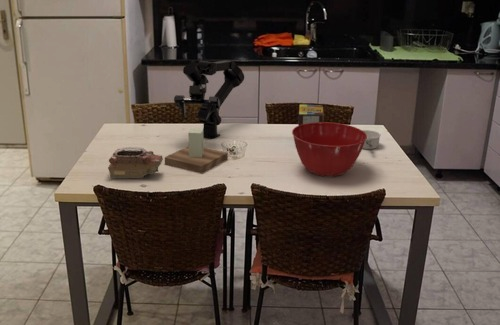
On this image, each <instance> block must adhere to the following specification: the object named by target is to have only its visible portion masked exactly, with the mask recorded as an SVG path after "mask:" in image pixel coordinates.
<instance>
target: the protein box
mask: <svg viewBox="0 0 500 325" xmlns="http://www.w3.org/2000/svg"><path fill="white" fill-rule="evenodd" d="M315 122H324V106H323V105H321V104H299V108H298V122H297V123H298V125H297V126H299V125H302V124H306V123H315Z"/></svg>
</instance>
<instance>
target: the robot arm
mask: <svg viewBox="0 0 500 325" xmlns="http://www.w3.org/2000/svg"><path fill="white" fill-rule="evenodd" d="M221 71H223V75H224V77H223V78H224V82H223V84H222V85H221V86H220V87H219V89H218V90H217V92H216V93H215V95H214V96H209V97H208V99H205V96H206V94H207V84H209V83H210V82H209V80H208V77H207V76H213V75H216V74H217V72H221ZM182 73H183V74H184V75H185V76H186V78H188V79H189V81H190V82H192V85H189V86H188V87H189V90H188V94H189V98H185V95H182V94H181V95H180V94H179V95H178V94H177V95H175V96H174V97H173V102H174V104H175V107H176V108H178V109H179V110H181V114H182V119H183V121H184V120H185V119H186V113H187V112H186V110H187V108H186V104H193V105H194V104H195V105H201V106H200V107H199V110H198V111H197V117H198V120H199V123H200V124H203V138H206V139H211V140H212V139H215V138H217V137H220V136H221V134H220V133H218V126H219V125H221V123H222V118H221V116H220V111H219V110H220V108H221V106H222V105H223V104H224V102H225V101H226V99H227V98H228V96H229V95H230V93H231V92H232V91H233V90H234V89H235V88H237V87H239V86H240V85H241V84H242V83H243V82H244V80H245V74H244V72H243V70H242V69H241V68H240V67H239V66H238V65H237V64H236V62H235V61H234V60H230V59H224V60H219V61H205V60H199V61H198V63H197V62H196V61H194V60H191V61H190V62H189V63H187V64H186V65H185V66H183V69H182Z"/></svg>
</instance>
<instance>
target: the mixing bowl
mask: <svg viewBox="0 0 500 325" xmlns="http://www.w3.org/2000/svg"><path fill="white" fill-rule="evenodd" d="M362 130H363V129H360V128H358V127H356V126H352V125H349V124H344V123H339V122H328V121H323V122H315V123H306V124H302V125H299V126H298V125H297V126H295V127H294V128H292V130H291V133H292V136H293V141H294V145H295V149H296V152H297V154H298V157H299V160H300V161H301V163H302V165H303V167H304V168H305V169H306V170H308V171H309V172H310V173H312V174H314V175H316V176H320V177H328V178H329V177H330V178H331V177H338V176H342V175H343V174H345V173H347V172H348V171H350V170H351V168H352V167H353V166H354V164H355V163H356V161H357V160H358V158H359V157H360V154H361V152H362V150H363V149H362V148H363V145H364V142H365V140H366V139H367V135H366V133H365V132H364V131H362Z"/></svg>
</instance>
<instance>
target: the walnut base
mask: <svg viewBox="0 0 500 325" xmlns="http://www.w3.org/2000/svg"><path fill="white" fill-rule="evenodd" d="M228 156H229V153H228V152H226V151H223V150H217V149H213V148H208V147H204V154H203V155H202V157H189V145H188V146H186V147H183V148H181V149H179V150H177V151H175V152H173V153H171V154H169V155H166V156H165V157H164V165H166V166H170V167H174V168H177V169H178V168H179V169H182V170H186V171H190V172H194V173H198V174H204V173H205V172H208V171H210V170H211V169H213V168H215V167H217V166H219V165H220V164H222V163H224V162H226V161H228Z"/></svg>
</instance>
